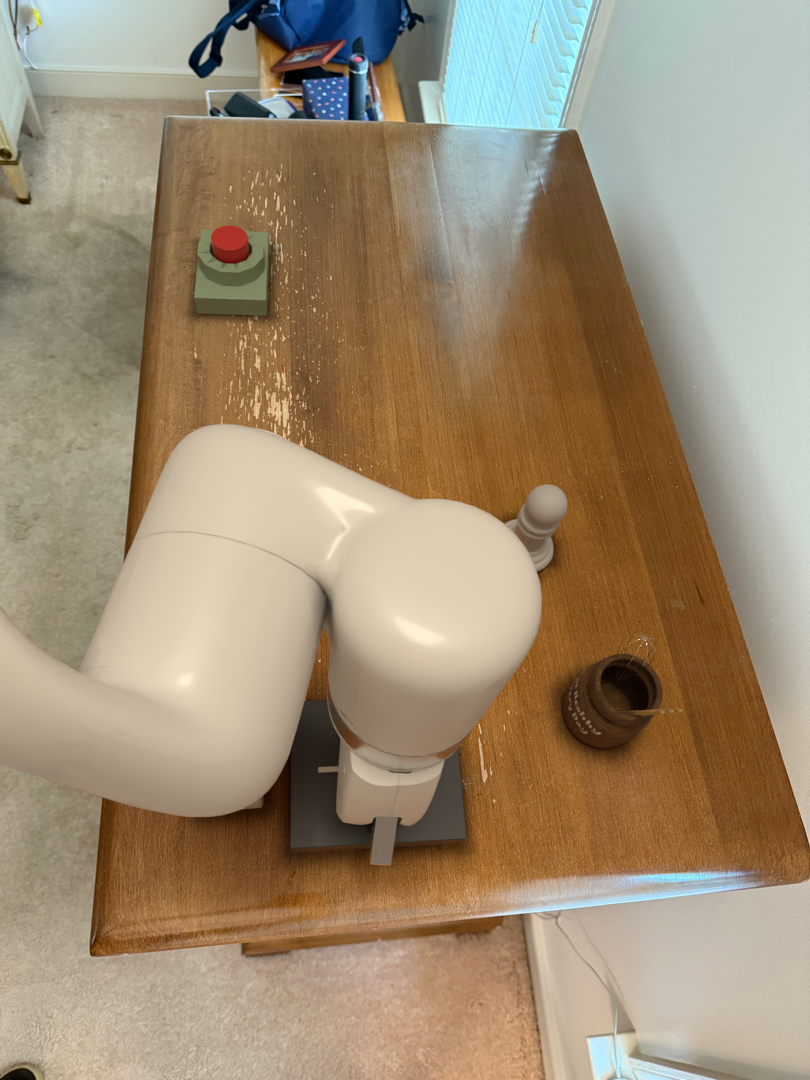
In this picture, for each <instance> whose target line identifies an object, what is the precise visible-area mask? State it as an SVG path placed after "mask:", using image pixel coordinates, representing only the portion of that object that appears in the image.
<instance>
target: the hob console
mask: <svg viewBox="0 0 810 1080" xmlns="http://www.w3.org/2000/svg"><path fill="white" fill-rule="evenodd" d="M339 751H340V737H339V735H338V733H337V732H336V730H335V728H334V726H333V724H332V721H331V718H330V715H329V710H328V703H327V699H315V700H313V699H312V700H311V699H310V700H305V701H304V705H303V709H302V712H301V716H300V720H299V723H298V727H297V730H296V734H295V737H294V740H293V744H292V747H291V750H290V803H289V804H290V805H289V807H290V809H289V811H290V812H289V849H290V853H291V854H304V853H305V854H307V853H323V852H339V851H340V852H342V851H343V852H344V851H360V850H370V837H371V834H368V833H367V831H366V828H364V825H357V824H350V823H344V822H342V821H341V819H340V818H339V816H338V814H337V812H336V798H337V781H338V766H339ZM464 800H465V799H464V791H463V780H462V770H461V759H460V747H459V748H458V749H457V750H456V751H455V752H454V753H453V754H452V755H451V756H450V757H448V758H447V759H445V761H444V765H443V768H442V772H441V777H440V779H439V782H438V785H437V788H436V790H435V793H434V796H433V798H432V800H431V803H430V805H429V807H428V809H427V811H426V812H425V814H424V815H423V816H422V818H421V819H420V820H419V821H418V822H416V823H415V824H413V825H411V826H405V825H402V824H400V819H401V818H400V817H398V830H396V835H395V842H394V848H395V849H396V848H413V847H414V848H415V847H416V848H417V847H429V846H430V847H432V846H451V845H460V844H462V843H463V842H464V841H466V840H468V833H467V821H466V813H465V810H466V809H465V801H464ZM394 848H393V849H394Z"/></svg>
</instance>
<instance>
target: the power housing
mask: <svg viewBox="0 0 810 1080" xmlns="http://www.w3.org/2000/svg"><path fill="white" fill-rule="evenodd" d="M240 228H241V229H243V230H244V231H245V232H246V233H247V235H248V242H249V256H248V257H247V259H246V260H244V261H242V262H240V263H237V264H225V263H222V262H220V261H218V260H217V259H216V258H215V257H214V255H213V250H212V243H211V235H212V233H213V231H214V230H215V229H211V228H210V229H209V228H200V235H199V241H198V242H197V252H196V256H197V264H196V275H195V285H194V293H193V295H194V296H193V301H194V305H195V311H196V314H198V315H222V316H223V315H224V316H251V317H252V316H253V317H254V316H255V317H268V304H269V303H268V302H269V275H270V254H271V253H270V251H271V250H270V249H271V248H270V233H269V231H254V230H253V231H251V230H247V229H245V228H243V227H240Z"/></svg>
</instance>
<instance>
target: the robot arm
mask: <svg viewBox="0 0 810 1080" xmlns="http://www.w3.org/2000/svg"><path fill="white" fill-rule="evenodd" d="M542 611H543V595H542V586H541V581H540V578H539V574H538V572H537V571H536V567H535V564H534V562H533V560H532V558H531V556H530V554H529V552H528V550H527V549H526V547H525V546H524V545H523V543H522V542H521V541H520V539H519V538H518V537H517V536H516V534H515V533H514V532H512V531H511V530H510V529H509V528H508V527H507V526H506V525H505V523H504V522H503V521H501V520H500V519H499V518H497V517H496V516H494V515H492V514H491V513H489V512H487V511H485V510H483V509H481V508H480V507H477V506H475V505H472V504H469V503H465V502H463V501H458V500H452V499H445V498H415V497H412V496H409V495H407V494H405V493H403V492H400V491H399V490H396V489H394V488H392V487H389V486H386V485H384V484H382V483H379V482H378V481H375V480H373V479H371V478H368V477H367V476H364V475H363V474H361V473H358V472H356V471H354V470H352V469H350V468H348V467H346V466H343V465H341V464H340V463H337V462H336V461H334V460H331V459H329V458H327V457H325V456H323V455H321V454H319V453H317V452H315V451H312V450H310V449H308V448H306V447H304V446H302V445H300V444H298V443H296V442H293V441H291V440H290V439H288V438H285V437H284V436H283V435H280V434H277V433H275V432H274V431H273V432H272V431H270V430H266V429H263V428H258V427H252V426H250V427H249V426H245V425H241V424H232V423H215V424H210V425H209V424H208V425H204V426H202V427H199V428H197V429H195V430H193V431H192V432H190V433H187V435H186V436H184V437H183V438H182V439H181V440H180V441H179V442H178V443H177V445H176V446H175V447H174V449H173V450H172V451H171V453H170V455H169V457H168V459H167V461H166V462H165V465H164V466H163V468H162V470H161V473H160V475H159V478H158V480H157V482H156V485H155V487H154V490H153V492H152V495H151V497H150V499H149V502H148V503H147V506H146V509H145V512H144V514H143V517H142V519H141V521H140V523H139V526H138V529H137V531H136V533H135V536H134V538H133V541H132V543H131V546H130V548H129V550H128V551H127V554H126V556H125V559H124V560H123V563H122V566H121V567H120V571H119V573H118V575H117V578H116V580H115V583H114V586H112V590H111V593H110V595H109V597H108V600H107V602H106V604H105V607H104V609H103V612H102V614H101V617H100V619H99V622H98V624H97V626H96V628H95V631H94V633H93V636H92V639H91V641H90V643H89V645H88V648H87V649H86V652H85V654H84V657H83V659H82V662H81V664H80V666H79V669H78V671H77V670H76V669H73V668H72V667H71V666H69V665H68V664H67V663H64V662H63V661H60V660H59V659H57V658H56V657H54V656H52V655H51V654H50V653H49V652H47V651H46V650H45V649H44V648H43V647H41V645H39V644H38V643H37V642H35V641H34V640H33V639H32V638H30V637H29V636H28V635H27V633H25V632H24V631H22V628H20V627H19V626H18V625H17V624H16V622H15V621H13V619H12V618H11V617H10V616H9V615H8V613H7V612H6V611H5V609H3V607H2V606H1V605H0V766H3V767H7V768H10V769H12V770H15V771H19V772H23V773H26V774H29V775H32V776H35V777H38V778H41V779H44V780H48V781H51V782H54V783H57V784H60V785H63V786H65V787H69V788H72V789H75V790H77V791H81V792H85V793H86V794H87V793H88V794H90V795H93V796H96V797H100V798H103V799H106V800H109V801H113V802H116V803H120V804H122V805H126V806H130V807H133V808H138V809H141V810H144V811H145V810H146V811H151V812H155V813H161V814H167V815H171V816H178V817H185V818H211V817H220V816H225V815H228V814H231V813H235V812H238V811H241V810H245V809H244V808H246V807H247V806H249V805H251V804H253V803H254V802H255V801H257V800H258V799H260V798H261V797H262V796H263V795H264V796H265V795H266V794H267V793H268V792H269V791H270V790H271V788H272V787H273V786H274V785H275V783H276V782H277V781H278V778H279V777H280V775H281V773H282V771H283V769H284V767H285V765H286V763H287V760H288V759H289V756H290V755H291V747H292V744H293V740H294V737H295V734H296V730H297V727H298V723H299V720H300V716H301V712H302V709H303V705H304V701H306V697H307V693H308V691H309V690H308V689H309V687H310V686H309V685H310V682H311V677H312V673H313V669H314V665H315V660H316V657H317V652H318V648H319V645H320V641H321V638H322V637H321V636H322V634H323V629H324V630H325V632H326V633H327V635H328V639H329V657H328V671H327V672H328V673H327V687H326V688H327V690H326V700H327V703H328V710H329V715H330V718H331V721H332V724H333V726H334V728H335V730H336V732H337V733H338V735H339V737H340V751H339V766H338V781H337V798H336V812H337V814H338V816H339V818H340V819H341V821H342V822H344V823H350V824H357V825H364V828H366V831H367V833H368V834H371V837H370V849H369V865H370V866H373V865H374V866H392V861H393V854H394V842H395V835H396V830H398V817H400V818H401V819H400V824H402V825H405V826H411V825H413V824H415V823H416V822H418V821H419V820H420V819H421V818H422V816H423V815H424V814H425V812H426V811H427V809H428V807H429V805H430V803H431V800H432V798H433V796H434V793H435V790H436V788H437V785H438V782H439V779H440V777H441V772H442V768H443V765H444V761H445V759H447V758H448V757H450V756H451V755H452V754H453V753H454V752H455V751H456V750H457V749H458V748H459V749H460V748H461V746H462V745H463V743H465V741H466V739H468V737H469V735H470V734H471V733H472V732H473V730H474V729H475V727H476V726H477V724H479V722H480V720H481V719H482V718H483V716H484V715H485V714H486V712H487V711H488V710H489V708H490V707H491V706H492V704H493V703H494V702H495V700H496V699H497V697H499V695H500V693H501V692H502V691H503V689H504V688H505V687H506V685H507V684H508V683H509V681H511V679H512V678H513V676H514V675H515V673H516V672H517V671H518V669H519V668H520V666H521V665H522V664H523V662H524V661H525V659H526V658H527V655H528V654H529V652H530V650H531V649H532V647H533V644H534V642H535V640H536V638H537V635H538V632H539V629H540V625H541V619H542Z"/></svg>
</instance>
